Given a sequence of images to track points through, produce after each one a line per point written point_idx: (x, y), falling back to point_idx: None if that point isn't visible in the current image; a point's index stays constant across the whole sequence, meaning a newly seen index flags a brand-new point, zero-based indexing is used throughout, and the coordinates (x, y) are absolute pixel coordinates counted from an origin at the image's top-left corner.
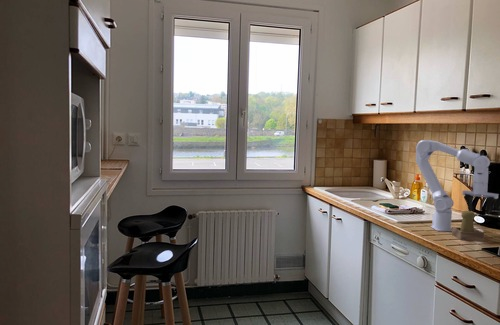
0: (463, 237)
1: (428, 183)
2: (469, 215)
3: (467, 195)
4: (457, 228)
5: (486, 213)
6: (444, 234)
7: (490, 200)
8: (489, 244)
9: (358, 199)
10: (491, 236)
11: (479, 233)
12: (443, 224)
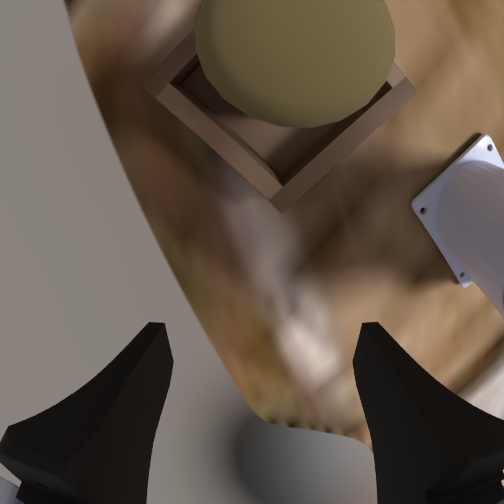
0: None
1: None
2: None
3: (470, 499)
4: (377, 98)
5: (163, 325)
6: (426, 67)
7: (15, 435)
8: (104, 33)
9: None
10: (191, 265)
11: (169, 57)
12: (487, 175)
